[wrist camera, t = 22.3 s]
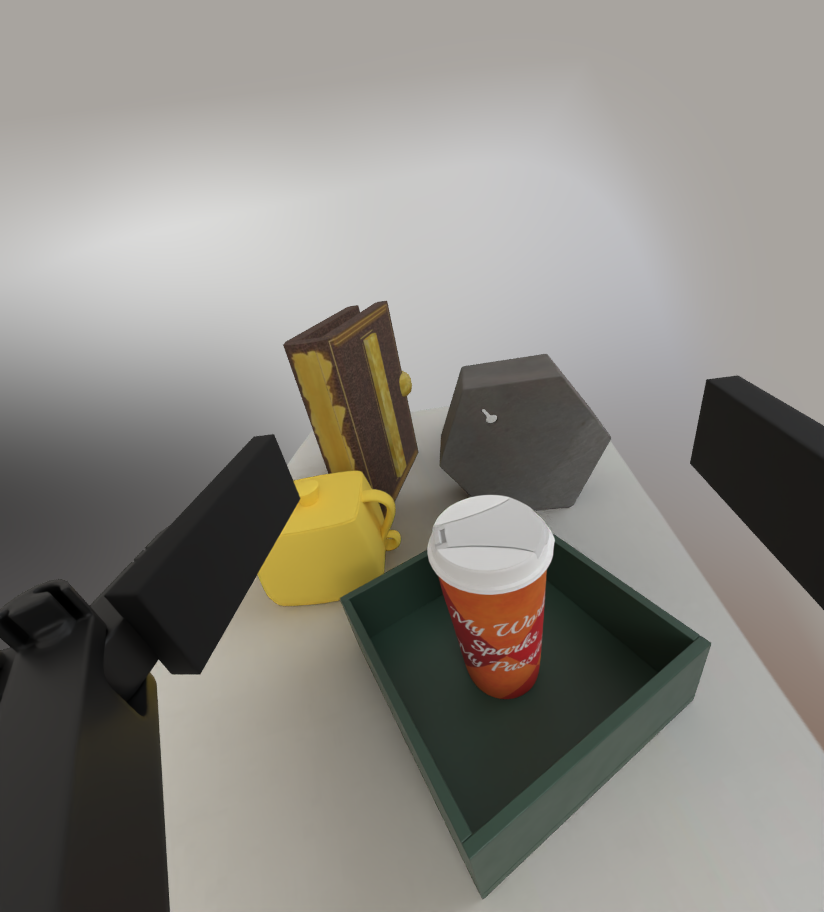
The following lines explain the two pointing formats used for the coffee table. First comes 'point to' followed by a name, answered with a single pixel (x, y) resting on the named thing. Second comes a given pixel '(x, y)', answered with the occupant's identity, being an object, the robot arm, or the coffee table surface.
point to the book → (357, 395)
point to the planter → (521, 433)
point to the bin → (524, 701)
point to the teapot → (330, 541)
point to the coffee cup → (494, 588)
